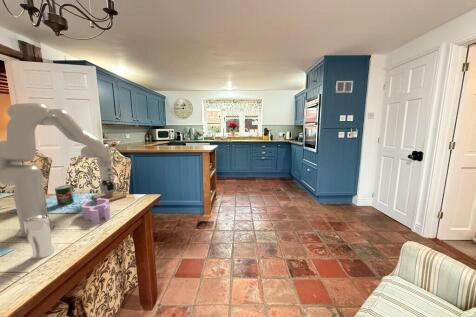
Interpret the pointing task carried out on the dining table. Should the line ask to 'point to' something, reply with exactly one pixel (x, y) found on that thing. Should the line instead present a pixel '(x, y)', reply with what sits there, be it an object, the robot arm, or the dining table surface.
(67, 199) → the canned tomato
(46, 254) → the beer glass
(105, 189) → the collar
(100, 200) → the clip
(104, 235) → the dining table surface
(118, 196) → the dock
